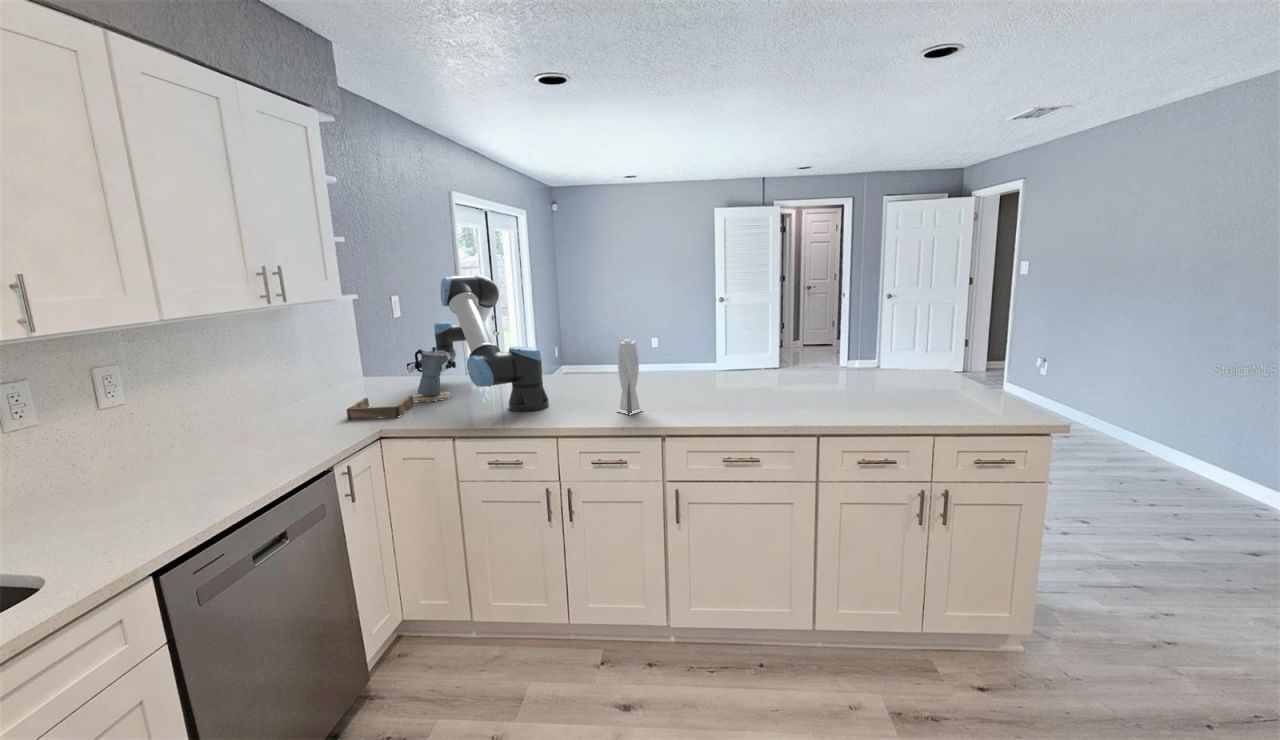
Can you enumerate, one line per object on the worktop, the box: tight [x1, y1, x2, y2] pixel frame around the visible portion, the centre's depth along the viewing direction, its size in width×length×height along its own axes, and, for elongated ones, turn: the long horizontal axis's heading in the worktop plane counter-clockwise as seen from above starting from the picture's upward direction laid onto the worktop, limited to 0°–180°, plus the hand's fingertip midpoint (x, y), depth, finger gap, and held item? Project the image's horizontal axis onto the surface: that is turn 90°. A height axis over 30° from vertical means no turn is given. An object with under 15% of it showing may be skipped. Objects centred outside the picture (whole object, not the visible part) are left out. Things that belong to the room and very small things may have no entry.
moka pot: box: [414, 346, 447, 396], centre depth 235 cm, size 10×15×20 cm, turn 79°
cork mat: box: [412, 390, 452, 402], centre depth 236 cm, size 16×16×1 cm
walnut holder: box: [346, 395, 415, 421], centre depth 215 cm, size 17×18×4 cm
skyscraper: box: [617, 335, 641, 414], centre depth 205 cm, size 8×8×28 cm
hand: (425, 369), depth 232 cm, fingers open, 13 cm apart
